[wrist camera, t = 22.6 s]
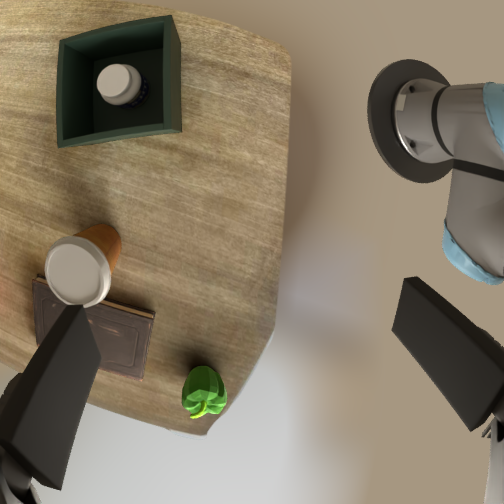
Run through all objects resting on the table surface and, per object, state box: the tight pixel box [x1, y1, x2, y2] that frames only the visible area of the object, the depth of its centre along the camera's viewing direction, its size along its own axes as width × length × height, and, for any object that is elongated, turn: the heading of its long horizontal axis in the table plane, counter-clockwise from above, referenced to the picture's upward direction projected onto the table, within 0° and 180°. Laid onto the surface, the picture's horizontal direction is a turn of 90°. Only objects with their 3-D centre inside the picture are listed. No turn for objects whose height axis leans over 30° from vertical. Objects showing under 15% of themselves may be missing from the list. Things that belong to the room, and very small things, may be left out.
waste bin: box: [56, 15, 182, 148], centre depth 29 cm, size 14×14×11 cm
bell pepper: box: [182, 366, 227, 418], centre depth 49 cm, size 8×8×10 cm
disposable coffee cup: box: [45, 224, 121, 308], centre depth 36 cm, size 10×10×12 cm
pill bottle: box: [97, 64, 150, 109], centre depth 29 cm, size 5×5×9 cm
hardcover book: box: [32, 274, 156, 381], centre depth 46 cm, size 16×23×2 cm
